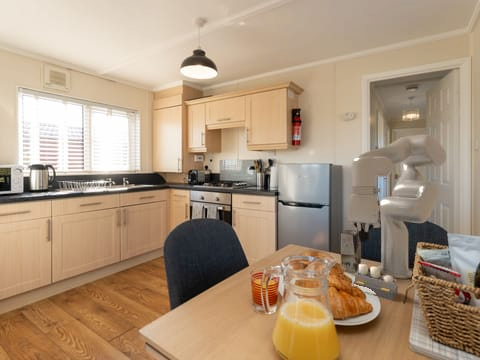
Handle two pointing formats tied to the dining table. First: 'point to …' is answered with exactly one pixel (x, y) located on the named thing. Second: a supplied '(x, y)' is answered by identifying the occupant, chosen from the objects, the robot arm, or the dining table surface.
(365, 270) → the end button
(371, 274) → the middle button
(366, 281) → the button board
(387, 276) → the end button
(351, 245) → the coffee box
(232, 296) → the dining table surface
